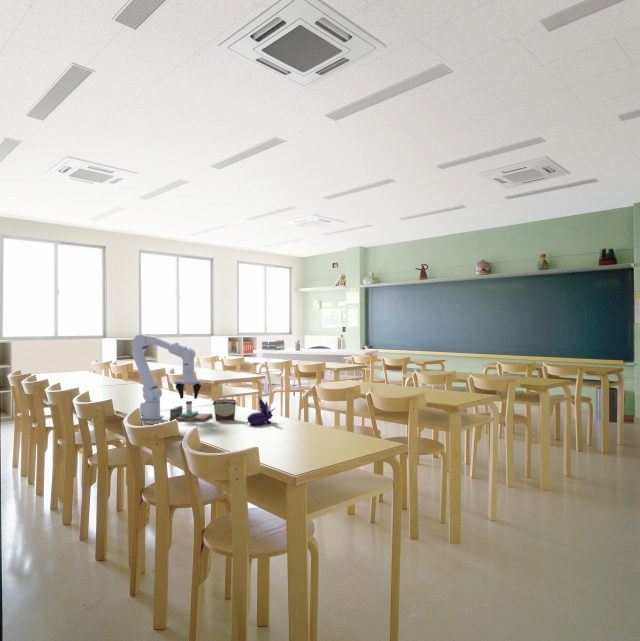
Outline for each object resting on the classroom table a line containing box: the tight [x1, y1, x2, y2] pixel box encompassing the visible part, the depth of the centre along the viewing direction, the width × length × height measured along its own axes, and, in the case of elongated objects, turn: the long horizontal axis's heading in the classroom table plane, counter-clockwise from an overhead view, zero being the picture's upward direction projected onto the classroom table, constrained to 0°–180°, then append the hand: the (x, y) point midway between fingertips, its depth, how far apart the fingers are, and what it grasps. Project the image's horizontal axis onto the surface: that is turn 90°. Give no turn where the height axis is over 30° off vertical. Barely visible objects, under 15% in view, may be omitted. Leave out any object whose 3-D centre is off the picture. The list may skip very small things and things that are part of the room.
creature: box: [245, 397, 276, 426], centre depth 236 cm, size 9×18×12 cm, turn 128°
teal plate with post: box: [180, 400, 199, 417], centre depth 250 cm, size 6×8×7 cm
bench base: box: [168, 405, 213, 423], centre depth 250 cm, size 18×12×6 cm, turn 81°
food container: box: [212, 398, 238, 422], centre depth 247 cm, size 12×6×10 cm, turn 84°
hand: (188, 398), depth 251 cm, fingers open, 7 cm apart
